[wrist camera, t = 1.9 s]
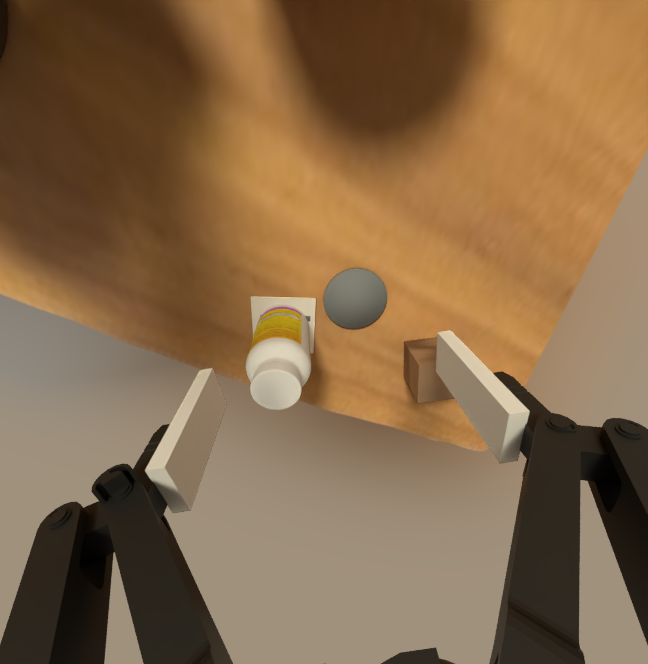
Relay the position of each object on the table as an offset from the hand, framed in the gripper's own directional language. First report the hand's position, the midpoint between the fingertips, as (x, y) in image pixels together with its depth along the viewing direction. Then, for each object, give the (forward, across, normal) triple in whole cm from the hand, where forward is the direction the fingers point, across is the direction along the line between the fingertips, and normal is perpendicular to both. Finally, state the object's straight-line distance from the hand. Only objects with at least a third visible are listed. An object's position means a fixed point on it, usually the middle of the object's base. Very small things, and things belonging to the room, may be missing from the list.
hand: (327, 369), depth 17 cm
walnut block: (+21, +14, -15) cm, 29 cm away
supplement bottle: (+20, -5, -6) cm, 22 cm away
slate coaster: (+20, +4, -4) cm, 21 cm away
